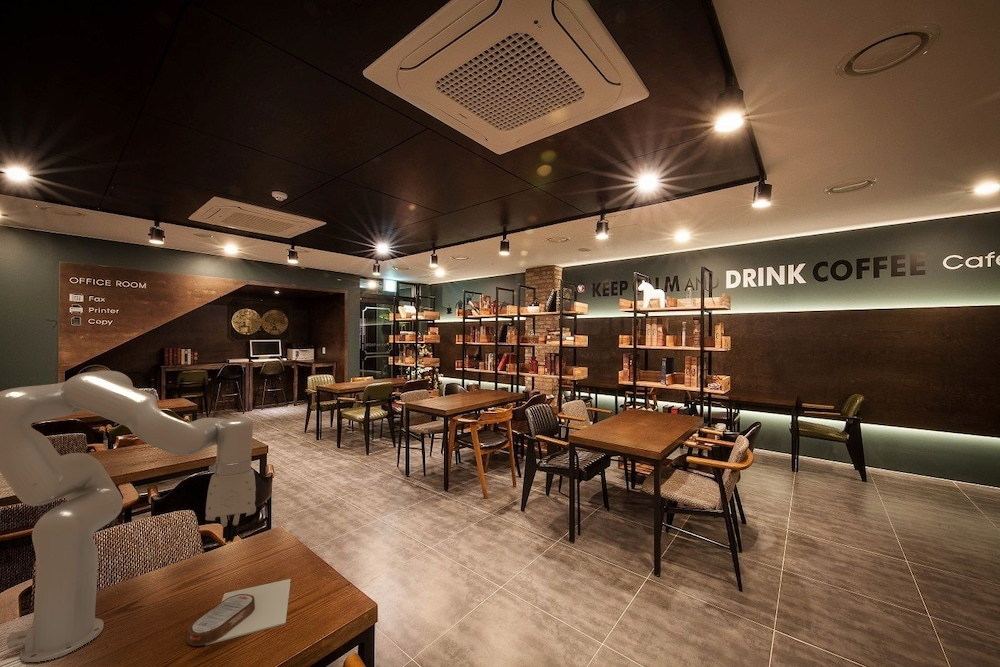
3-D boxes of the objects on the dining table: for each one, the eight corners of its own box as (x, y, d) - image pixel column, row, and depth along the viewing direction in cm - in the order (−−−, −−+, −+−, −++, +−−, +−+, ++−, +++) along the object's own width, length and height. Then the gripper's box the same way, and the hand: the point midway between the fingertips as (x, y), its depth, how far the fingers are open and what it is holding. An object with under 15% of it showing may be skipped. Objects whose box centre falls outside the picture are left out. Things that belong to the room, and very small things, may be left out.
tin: (177, 642, 87) (207, 651, 85) (179, 628, 87) (209, 636, 85) (235, 600, 102) (262, 607, 100) (236, 588, 102) (263, 595, 100)
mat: (205, 645, 87) (205, 643, 87) (224, 594, 105) (224, 593, 105) (285, 624, 94) (285, 622, 94) (290, 580, 112) (290, 578, 112)
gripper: (193, 475, 92) (189, 553, 91) (265, 468, 98) (262, 540, 97) (202, 466, 99) (198, 539, 98) (269, 460, 105) (265, 528, 104)
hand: (230, 539), depth 98 cm, fingers closed
